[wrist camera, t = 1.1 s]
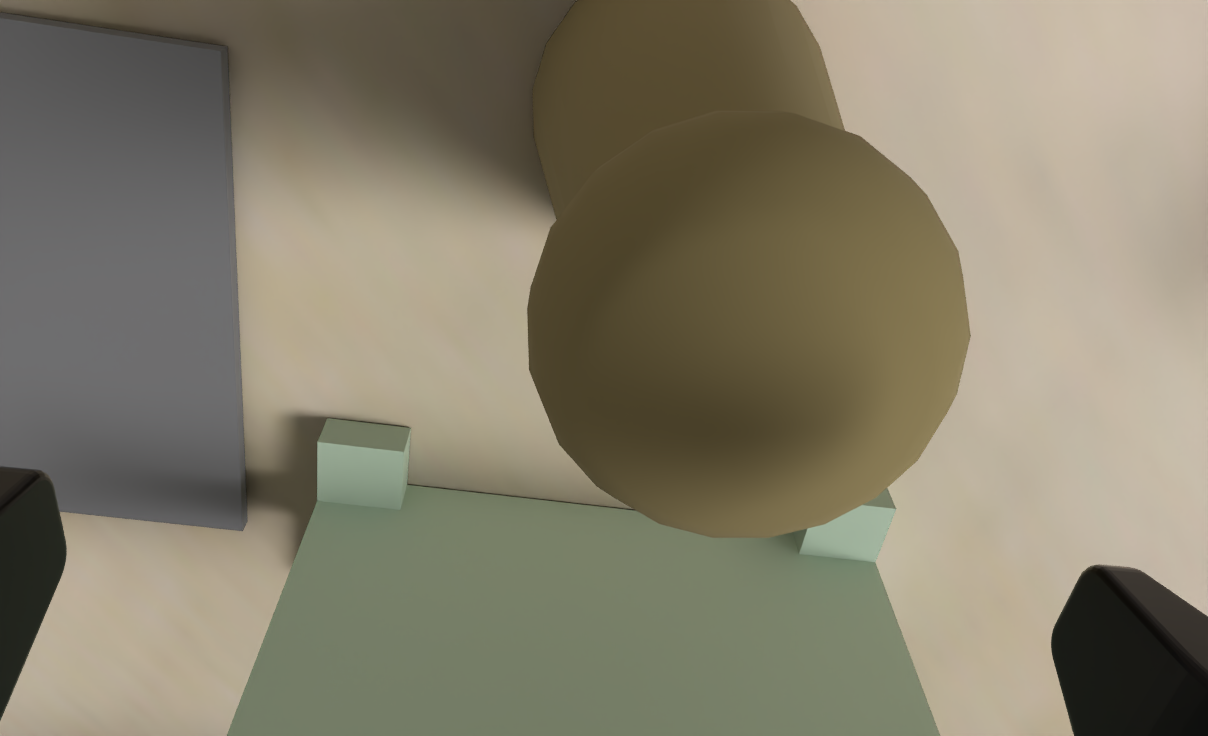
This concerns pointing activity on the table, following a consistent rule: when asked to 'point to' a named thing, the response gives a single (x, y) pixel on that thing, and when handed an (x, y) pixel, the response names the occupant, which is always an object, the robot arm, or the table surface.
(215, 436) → the mat
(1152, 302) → the table surface
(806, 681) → the screen
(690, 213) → the olive bulbous piece
